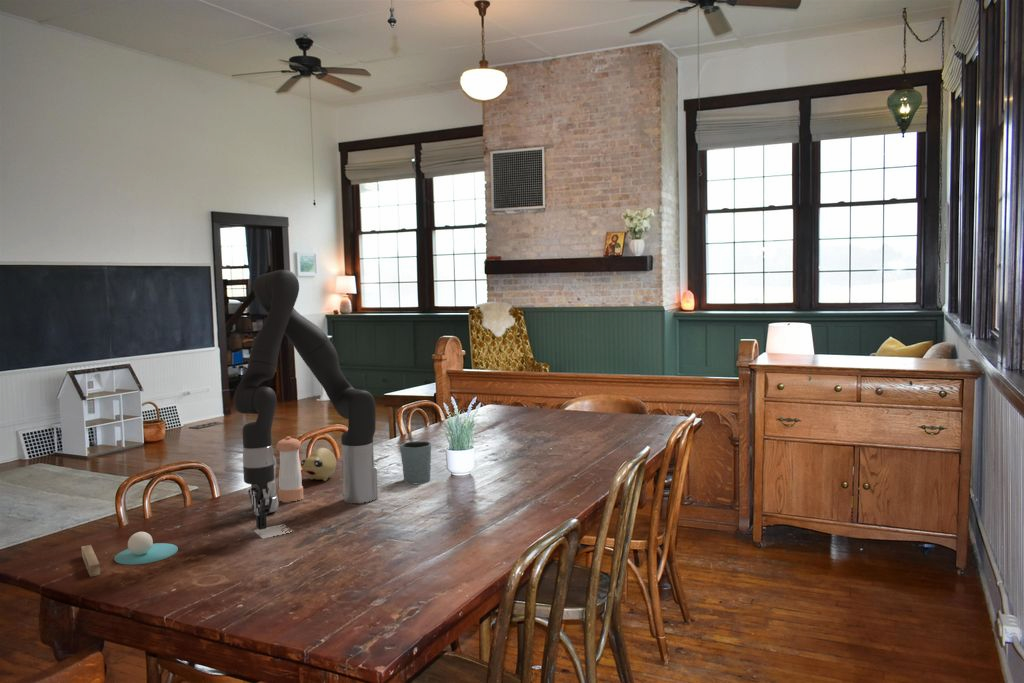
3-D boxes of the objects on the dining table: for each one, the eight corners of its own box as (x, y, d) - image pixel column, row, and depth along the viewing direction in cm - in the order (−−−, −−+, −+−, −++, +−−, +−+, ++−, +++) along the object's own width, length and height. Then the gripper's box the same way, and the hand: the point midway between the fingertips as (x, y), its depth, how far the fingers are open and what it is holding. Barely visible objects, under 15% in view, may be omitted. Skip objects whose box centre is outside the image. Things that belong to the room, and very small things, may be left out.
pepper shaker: (273, 500, 229) (270, 437, 228) (290, 494, 236) (287, 433, 234) (291, 503, 226) (288, 439, 224) (308, 497, 232) (305, 435, 231)
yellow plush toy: (295, 483, 248) (294, 451, 248) (316, 474, 260) (315, 443, 259) (322, 485, 245) (320, 453, 244) (342, 476, 257) (340, 445, 256)
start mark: (283, 524, 206) (283, 524, 206) (293, 532, 200) (293, 531, 200) (253, 530, 202) (253, 530, 202) (262, 539, 195) (262, 538, 195)
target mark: (171, 540, 196) (171, 539, 196) (183, 555, 184) (183, 554, 184) (110, 552, 188) (110, 551, 188) (119, 569, 176) (119, 568, 176)
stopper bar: (91, 554, 186) (90, 544, 186) (100, 574, 173) (99, 564, 173) (82, 556, 185) (81, 546, 185) (90, 576, 172) (89, 566, 172)
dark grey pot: (417, 486, 243) (415, 448, 242) (394, 481, 249) (393, 445, 248) (438, 479, 251) (437, 442, 250) (416, 474, 257) (415, 439, 256)
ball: (128, 551, 187) (153, 546, 190) (129, 561, 183) (154, 555, 185) (126, 530, 186) (151, 526, 189) (126, 539, 182) (152, 534, 184)
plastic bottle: (254, 517, 214) (251, 446, 212) (256, 510, 220) (252, 441, 219) (278, 514, 215) (275, 444, 214) (279, 508, 222) (276, 440, 220)
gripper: (281, 465, 194) (284, 532, 196) (265, 456, 205) (268, 519, 207) (251, 470, 190) (254, 538, 191) (236, 460, 201) (239, 525, 202)
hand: (261, 528), depth 199 cm, fingers closed
